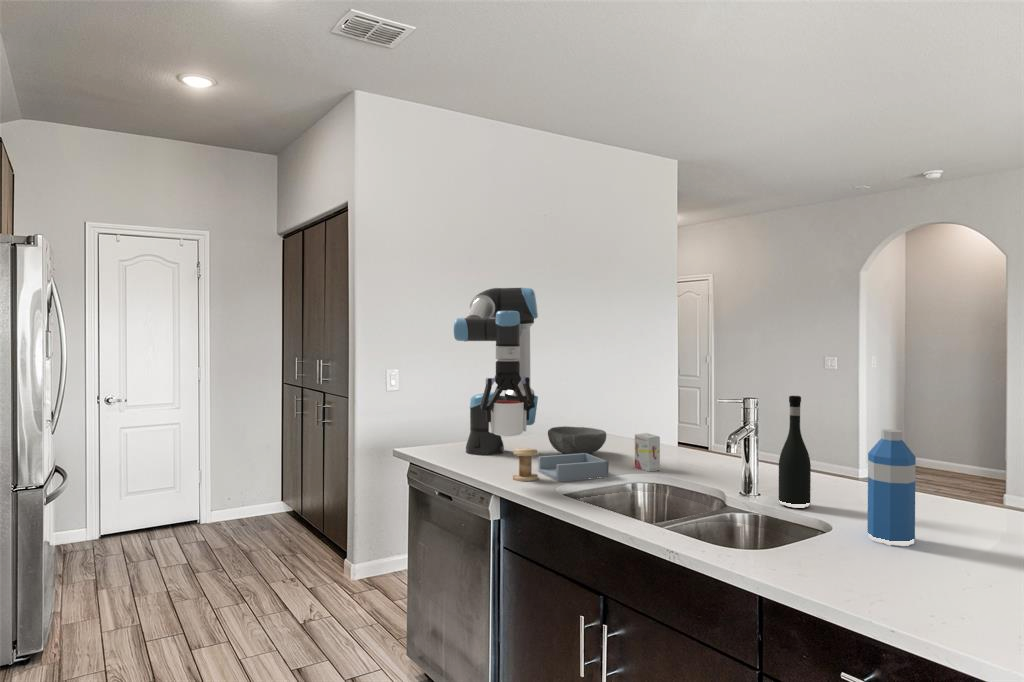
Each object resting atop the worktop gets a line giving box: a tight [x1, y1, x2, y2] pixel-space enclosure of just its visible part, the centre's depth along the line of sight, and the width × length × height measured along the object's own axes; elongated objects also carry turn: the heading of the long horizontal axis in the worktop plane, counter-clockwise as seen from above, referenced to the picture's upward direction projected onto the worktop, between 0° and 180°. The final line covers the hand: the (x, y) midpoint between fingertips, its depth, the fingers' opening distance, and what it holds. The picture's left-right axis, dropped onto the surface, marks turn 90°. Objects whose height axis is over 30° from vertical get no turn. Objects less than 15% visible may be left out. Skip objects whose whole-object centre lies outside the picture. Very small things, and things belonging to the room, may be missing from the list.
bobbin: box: [512, 448, 539, 482], centre depth 212 cm, size 8×8×9 cm
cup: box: [492, 401, 524, 437], centre depth 205 cm, size 10×10×10 cm
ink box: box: [634, 432, 661, 473], centre depth 228 cm, size 9×5×12 cm, turn 25°
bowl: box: [547, 425, 607, 455], centre depth 253 cm, size 23×22×10 cm
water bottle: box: [867, 428, 917, 541], centre depth 149 cm, size 9×9×25 cm
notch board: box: [537, 453, 610, 483], centre depth 218 cm, size 16×18×5 cm
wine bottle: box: [778, 395, 812, 504], centre depth 179 cm, size 8×8×30 cm
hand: (507, 431), depth 205 cm, fingers closed on cup, 10 cm apart
